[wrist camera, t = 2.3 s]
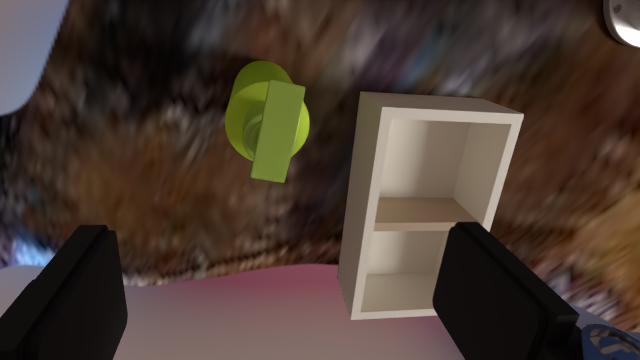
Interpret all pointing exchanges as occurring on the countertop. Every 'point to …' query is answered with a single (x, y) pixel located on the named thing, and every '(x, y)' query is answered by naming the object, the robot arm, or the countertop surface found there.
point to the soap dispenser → (267, 119)
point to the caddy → (417, 193)
